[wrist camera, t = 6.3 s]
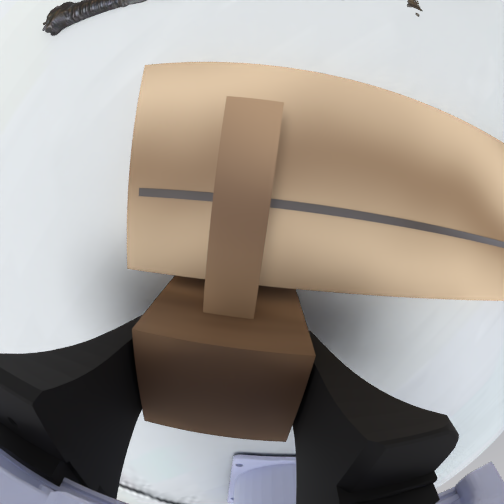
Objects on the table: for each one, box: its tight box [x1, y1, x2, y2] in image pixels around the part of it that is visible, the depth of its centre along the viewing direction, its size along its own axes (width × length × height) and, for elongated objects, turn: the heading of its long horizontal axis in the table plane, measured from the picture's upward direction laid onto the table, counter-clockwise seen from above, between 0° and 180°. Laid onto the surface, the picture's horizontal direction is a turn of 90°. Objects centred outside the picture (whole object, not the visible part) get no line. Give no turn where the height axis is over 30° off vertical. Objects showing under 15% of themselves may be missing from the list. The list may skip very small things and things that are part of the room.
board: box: [127, 62, 504, 301], centre depth 10 cm, size 8×22×2 cm, turn 84°
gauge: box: [132, 96, 316, 442], centre depth 9 cm, size 10×5×5 cm, turn 173°
